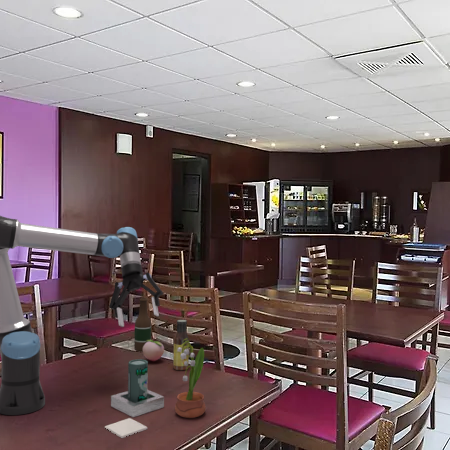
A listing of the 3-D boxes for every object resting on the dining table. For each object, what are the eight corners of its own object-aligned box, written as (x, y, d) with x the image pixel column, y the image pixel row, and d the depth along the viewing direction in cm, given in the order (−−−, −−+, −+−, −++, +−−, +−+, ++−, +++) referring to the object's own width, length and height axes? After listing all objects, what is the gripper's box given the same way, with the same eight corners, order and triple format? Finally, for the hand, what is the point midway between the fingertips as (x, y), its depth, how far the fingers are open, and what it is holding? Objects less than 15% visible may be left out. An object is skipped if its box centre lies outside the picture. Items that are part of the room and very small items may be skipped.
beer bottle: (154, 348, 239) (155, 297, 238) (144, 352, 232) (145, 300, 231) (140, 346, 243) (141, 296, 242) (130, 350, 236) (131, 298, 235)
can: (144, 410, 167) (145, 365, 166) (126, 410, 167) (127, 364, 166) (148, 403, 173) (148, 359, 172) (130, 402, 173) (130, 359, 172)
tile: (121, 438, 146) (121, 436, 146) (104, 428, 153) (104, 426, 153) (147, 429, 153) (147, 427, 153) (129, 419, 159) (129, 417, 159)
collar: (133, 417, 161) (133, 406, 161) (111, 406, 170) (111, 395, 169) (163, 407, 170) (164, 396, 170) (141, 396, 178) (141, 387, 178)
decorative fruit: (138, 362, 217) (138, 339, 217) (148, 357, 225) (149, 335, 224) (156, 366, 213) (157, 342, 213) (167, 360, 221) (167, 338, 220)
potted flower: (190, 425, 156) (191, 344, 155) (164, 417, 162) (165, 339, 161) (211, 412, 166) (213, 336, 166) (186, 405, 172) (188, 331, 171)
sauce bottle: (185, 371, 207) (186, 323, 206) (171, 370, 208) (172, 322, 208) (190, 366, 213) (191, 319, 213) (175, 365, 215) (176, 318, 214)
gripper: (165, 260, 192) (175, 313, 183) (105, 279, 196) (111, 332, 187) (158, 253, 186) (167, 308, 176) (96, 272, 189) (102, 327, 180)
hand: (138, 320), depth 181 cm, fingers open, 13 cm apart
